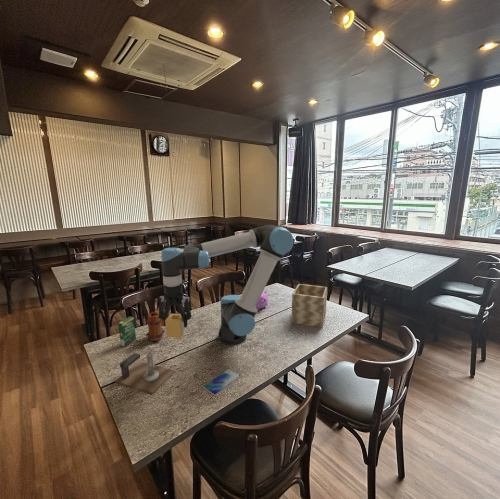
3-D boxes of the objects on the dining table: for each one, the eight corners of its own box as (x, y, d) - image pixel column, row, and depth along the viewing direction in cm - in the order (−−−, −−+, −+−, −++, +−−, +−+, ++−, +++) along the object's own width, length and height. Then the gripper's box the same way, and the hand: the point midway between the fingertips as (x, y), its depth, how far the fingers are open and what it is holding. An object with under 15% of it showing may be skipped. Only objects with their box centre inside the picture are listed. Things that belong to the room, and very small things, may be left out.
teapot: (267, 312, 175) (267, 296, 173) (247, 312, 176) (246, 296, 173) (267, 303, 190) (267, 288, 188) (248, 302, 191) (248, 288, 188)
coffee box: (124, 347, 136) (121, 323, 133) (120, 346, 137) (117, 322, 134) (136, 339, 143) (134, 316, 140) (132, 338, 144) (130, 315, 142)
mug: (158, 344, 139) (156, 317, 136) (144, 342, 140) (141, 315, 137) (171, 330, 153) (170, 305, 150) (158, 328, 154) (156, 304, 151)
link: (180, 337, 117) (179, 320, 116) (166, 337, 118) (165, 320, 116) (192, 321, 133) (191, 305, 131) (179, 320, 133) (178, 305, 132)
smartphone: (241, 375, 115) (215, 395, 103) (241, 377, 115) (215, 397, 103) (228, 368, 119) (202, 386, 108) (228, 369, 119) (202, 388, 108)
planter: (325, 313, 172) (327, 287, 169) (322, 327, 155) (324, 298, 151) (297, 309, 179) (298, 283, 175) (291, 322, 161) (292, 293, 158)
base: (174, 372, 117) (173, 347, 115) (152, 394, 104) (150, 366, 102) (140, 362, 124) (137, 339, 121) (115, 382, 111) (112, 356, 109)
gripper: (197, 281, 118) (200, 330, 123) (154, 280, 120) (158, 328, 125) (192, 287, 111) (195, 338, 116) (146, 286, 113) (151, 336, 118)
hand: (176, 333), depth 121 cm, fingers closed on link, 6 cm apart
